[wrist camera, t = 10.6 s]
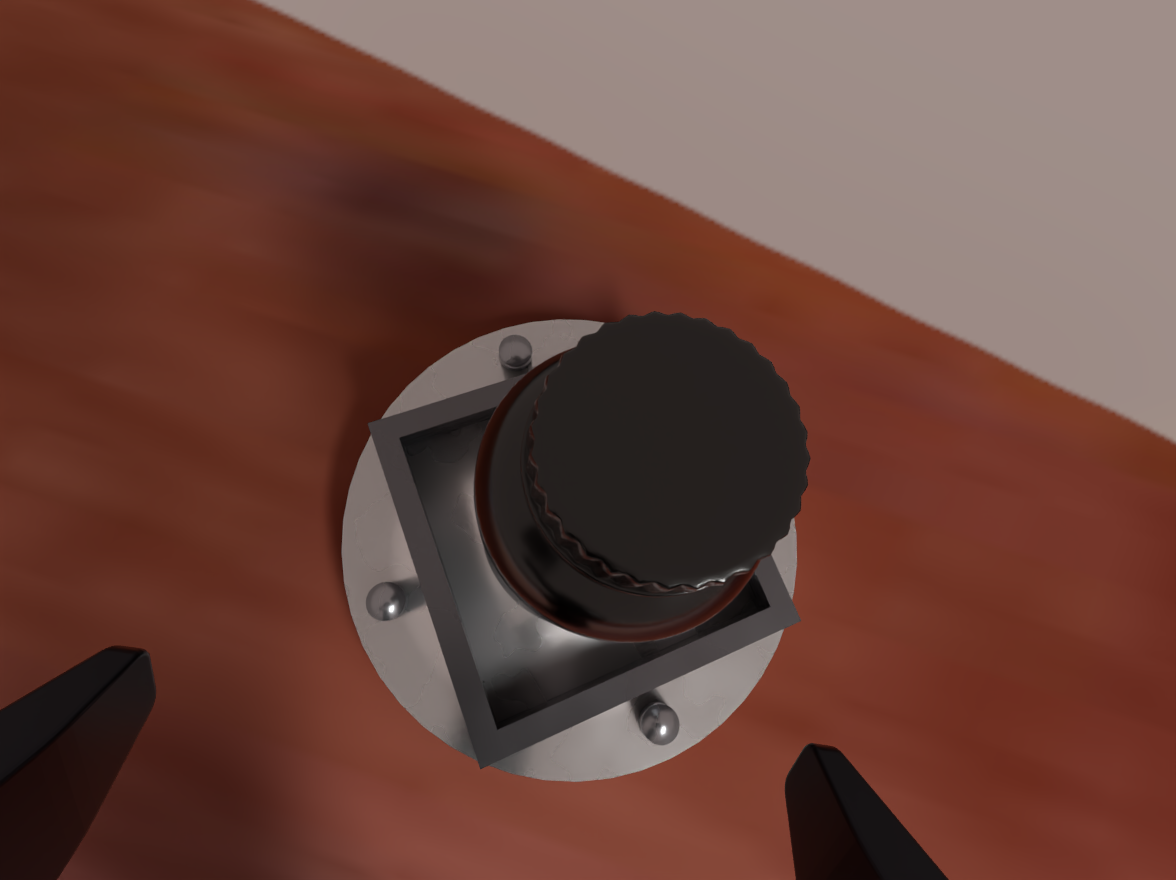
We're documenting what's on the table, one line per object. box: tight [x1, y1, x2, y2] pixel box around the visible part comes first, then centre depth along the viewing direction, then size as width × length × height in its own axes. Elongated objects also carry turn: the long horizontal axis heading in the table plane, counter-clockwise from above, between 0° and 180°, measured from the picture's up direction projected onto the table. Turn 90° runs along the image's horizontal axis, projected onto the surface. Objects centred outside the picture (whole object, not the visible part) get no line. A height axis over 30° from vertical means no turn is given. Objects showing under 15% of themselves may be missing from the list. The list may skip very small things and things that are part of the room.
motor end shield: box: [341, 319, 801, 782], centre depth 22 cm, size 16×16×3 cm
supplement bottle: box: [474, 311, 810, 643], centre depth 16 cm, size 7×7×12 cm
